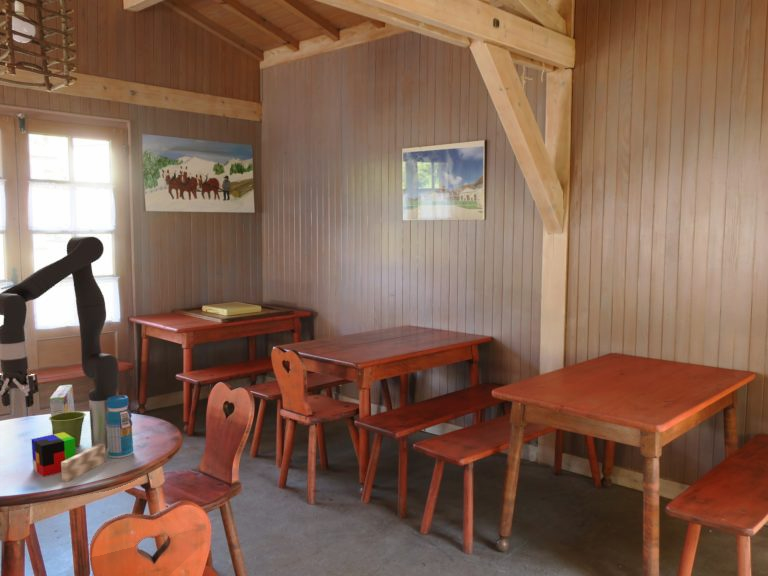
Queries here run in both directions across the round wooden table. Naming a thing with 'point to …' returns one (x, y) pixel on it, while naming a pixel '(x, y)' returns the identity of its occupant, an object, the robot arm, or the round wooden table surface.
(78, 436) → the plant pot
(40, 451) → the puzzle toy
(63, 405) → the snack box
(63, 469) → the ash board
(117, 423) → the blue canister
